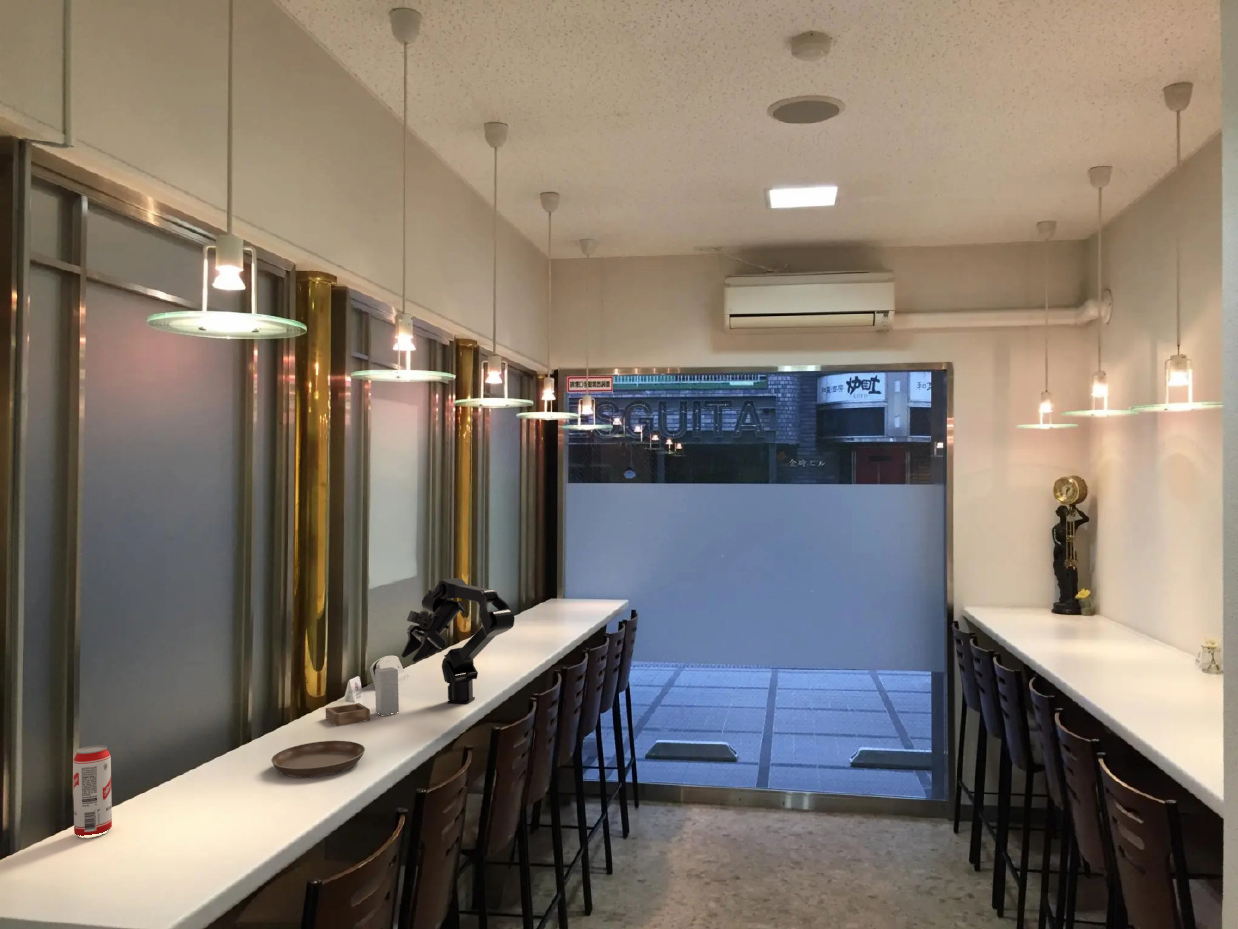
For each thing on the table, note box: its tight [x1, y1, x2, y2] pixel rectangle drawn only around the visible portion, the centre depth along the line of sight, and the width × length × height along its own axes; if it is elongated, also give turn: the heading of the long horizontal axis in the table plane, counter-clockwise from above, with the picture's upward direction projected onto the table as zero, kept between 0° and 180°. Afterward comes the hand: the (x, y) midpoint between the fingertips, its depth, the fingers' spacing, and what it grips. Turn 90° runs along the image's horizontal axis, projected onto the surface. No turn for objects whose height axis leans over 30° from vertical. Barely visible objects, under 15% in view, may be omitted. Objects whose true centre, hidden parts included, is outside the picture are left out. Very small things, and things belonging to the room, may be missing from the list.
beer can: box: [72, 744, 113, 836], centre depth 177 cm, size 6×6×16 cm
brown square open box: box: [325, 702, 371, 726], centre depth 259 cm, size 10×10×3 cm
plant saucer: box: [271, 740, 366, 778], centre depth 216 cm, size 21×21×3 cm
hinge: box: [369, 655, 410, 688], centre depth 306 cm, size 17×5×10 cm, turn 170°
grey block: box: [374, 667, 400, 716], centre depth 265 cm, size 5×5×12 cm
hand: (407, 659), depth 275 cm, fingers open, 9 cm apart
